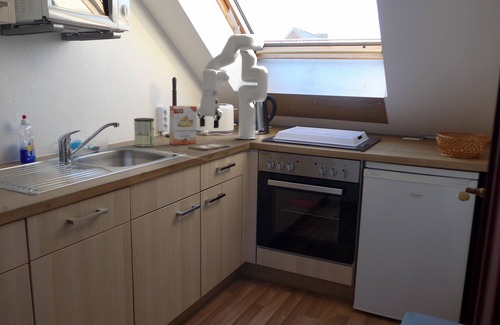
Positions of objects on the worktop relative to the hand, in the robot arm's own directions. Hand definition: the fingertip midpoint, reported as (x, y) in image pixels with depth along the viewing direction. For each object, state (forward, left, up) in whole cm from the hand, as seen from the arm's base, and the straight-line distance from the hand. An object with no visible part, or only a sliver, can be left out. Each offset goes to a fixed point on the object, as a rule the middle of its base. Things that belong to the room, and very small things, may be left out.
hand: (209, 127), depth 234 cm
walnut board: (0, 0, -11) cm, 11 cm away
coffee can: (+18, -30, -11) cm, 37 cm away
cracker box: (0, -20, -11) cm, 22 cm away
